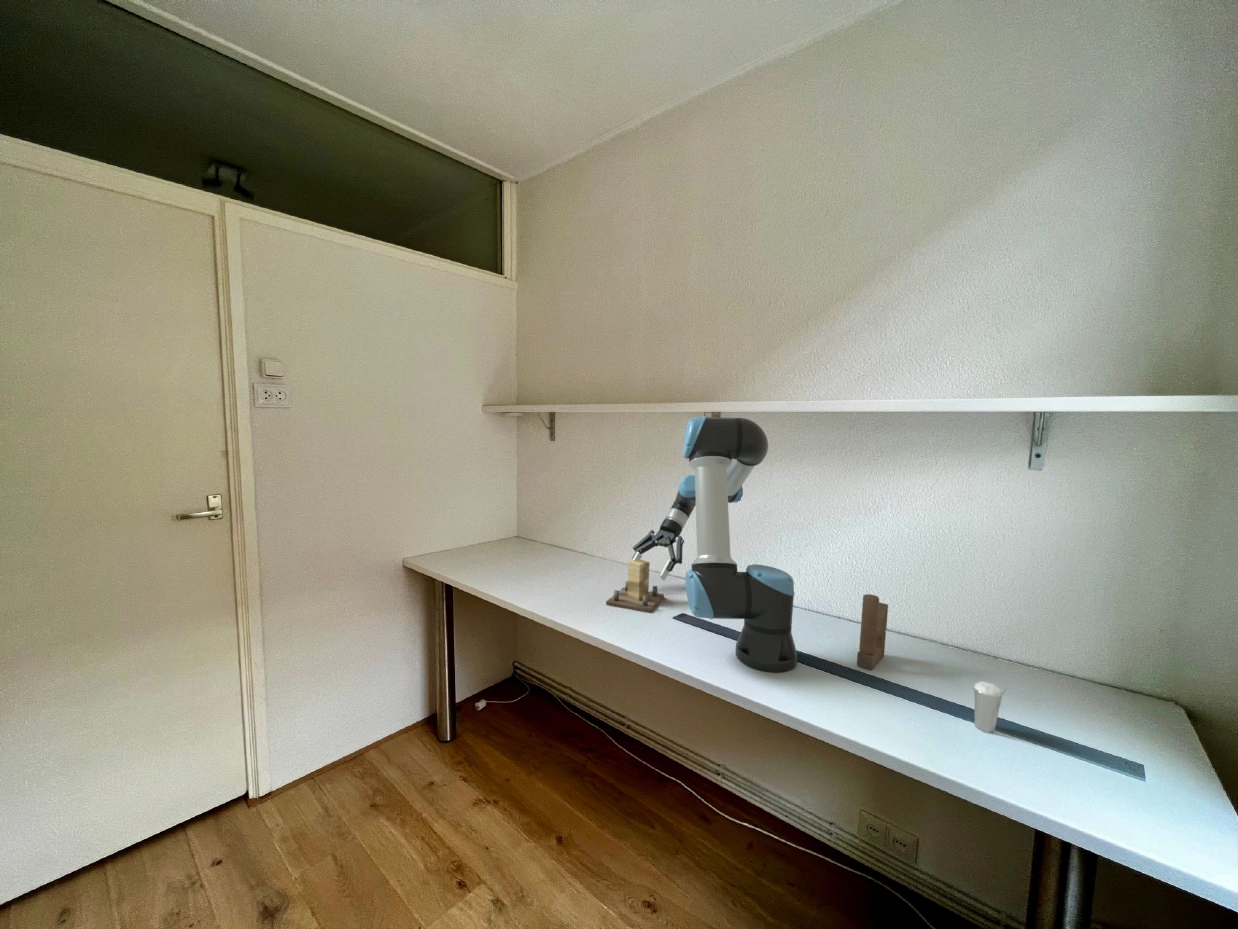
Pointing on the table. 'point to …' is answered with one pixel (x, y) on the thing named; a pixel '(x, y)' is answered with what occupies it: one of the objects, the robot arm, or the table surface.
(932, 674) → the table surface
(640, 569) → the oak post
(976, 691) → the milkshake
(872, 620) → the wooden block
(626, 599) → the peg plate
